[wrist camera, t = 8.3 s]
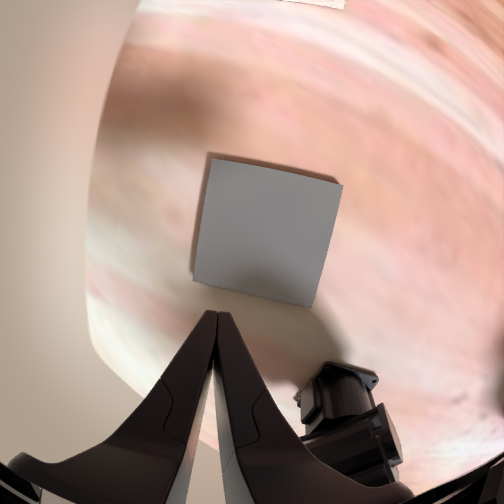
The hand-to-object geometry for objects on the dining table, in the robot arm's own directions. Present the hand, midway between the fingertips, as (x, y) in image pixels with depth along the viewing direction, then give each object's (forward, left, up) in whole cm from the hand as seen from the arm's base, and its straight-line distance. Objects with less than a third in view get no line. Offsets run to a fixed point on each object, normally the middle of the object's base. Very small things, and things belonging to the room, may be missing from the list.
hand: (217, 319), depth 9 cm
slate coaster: (0, -1, -13) cm, 13 cm away
